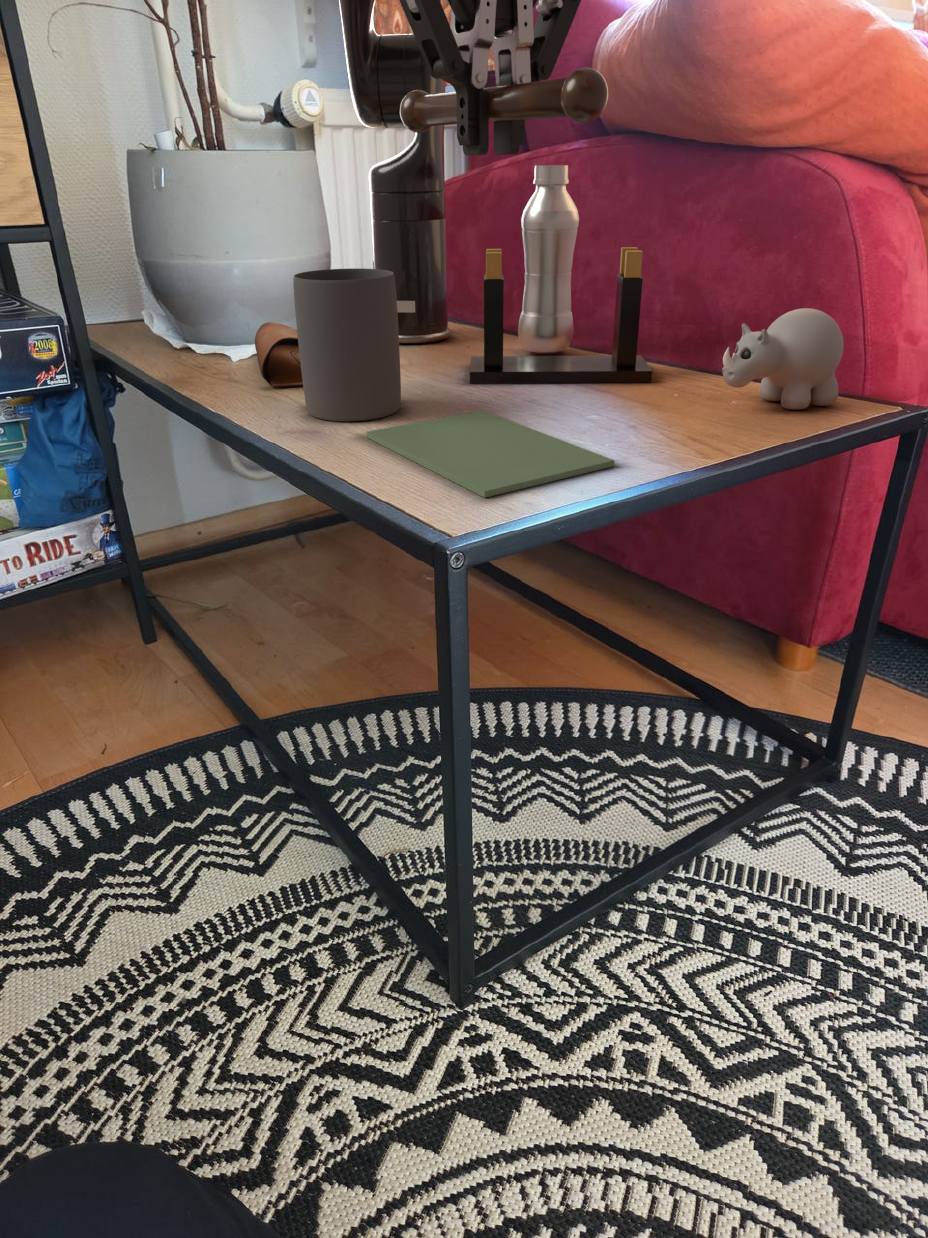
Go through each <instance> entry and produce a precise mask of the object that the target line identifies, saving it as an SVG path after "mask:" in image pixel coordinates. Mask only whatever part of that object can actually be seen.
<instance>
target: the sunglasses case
mask: <svg viewBox="0 0 928 1238" xmlns="http://www.w3.org/2000/svg"><path fill="white" fill-rule="evenodd" d="M254 348H255V352H256V356H257V363H258V368H259V372H260V374H261V375H260V376H261V377H262V378H263V380H265V381H266V382H267V384H268V385H270V387H272V388H279V387H283V388H298V387H303V380H302V372H301V363H300V353H299V344H298V334H297V329H295V328H294V327H291V326H288V325H286V324H282V323H278V322H275V321H273V322H272V321H268V322H265V323H263V324H261V325H260V326H259V328H258V329H257V331H256V333H255V336H254Z"/></svg>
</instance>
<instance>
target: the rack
mask: <svg viewBox="0 0 928 1238" xmlns="http://www.w3.org/2000/svg"><path fill="white" fill-rule="evenodd" d="M485 251H486V253H485V274H484V275H483V355H482V356H480V355H479V356H478V355H477V356H471V359H470V365H469V366H470V367H469V384H629V383H630V384H631V383H635V384H637V383H639V384H640V383H642V384H645V383H647V384H648V383H650V384H651V383H652V382H653V369H652V368H651V367H650V365H649V364H648V363H647V362H646V360H645V359H644V357H643V356H642V355H641V354H637V353H638V345H639V330H640V319H641V318H640V317H641V307H642V306H641V304H642V294H643V293H642V292H643V279H644V278H643V277H642V265H643V250H639V247H637V246H625V247H624V246H623V247H622V246H621V248H620V251H621V252H620V263H619V272H618V273H617V276H616V277H617V278H616V290H615V291H616V292H615V295H616V296H615V306H614V321H613V333H612V334H613V335H612V352H611V355H504V303H505V302H504V296H505V295H504V292H505V291H504V289H505V286H504V285H505V277H504V274H503V268H502V267H503V249H502V248H486V250H485Z"/></svg>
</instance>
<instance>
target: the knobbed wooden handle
mask: <svg viewBox="0 0 928 1238" xmlns="http://www.w3.org/2000/svg"><path fill="white" fill-rule="evenodd" d="M608 87H609V86H608V83H607V81H606V78H605V77H604V76H603V74H602V73H601V72H600V71H598V70H596V69H595V68H592V67H580V68H577V69H576V70H574V71H572V72H571V73H570V74H568V76H567V77H564V78H563V77H561V78H555V79H547V80H540V81H537V82H529V83H521V84H513V85H505V86H490V87H483V91H489V101H488V107H489V123H494V122H495V121H509V120H524V119H525V120H537V119H550V118H564V117H567V118H568V119H570V120H572V121H573V122H575V123H577V124H588V123H590V122H593V121H594V120H596V119H597V118H599V117H600V115H602V113H603V112H604V110H605V108H606V106H607V103H608V99H609V88H608ZM400 116H401V119H402V122H403V123H404V125H405V126H406V127H407V128H406V129H407V130H409V131H410V132H413V133H415V134H416V133H422V132H425V131H427V130H429V129H430V128H431V127H432V126H438V125H444V126H450V125H457V101H456V92H455V91H450V92H445V93H440V94H432V95H429V94H428V93H426V92H425V91H421V90H414V91H411V92H409V93H408V94H407V95H406V96H405V97H404V98H403V100H402V103H401V106H400Z"/></svg>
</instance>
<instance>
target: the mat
mask: <svg viewBox="0 0 928 1238" xmlns="http://www.w3.org/2000/svg"><path fill="white" fill-rule="evenodd" d="M365 436H366V438H367V439H369V440H371V441H373V442H375V443H376V444H379V445H381V446H383V447H385V448H386V449H388V450H390V451H392V452H394V453H396V454H398V455H400V456H402V457H404V458H406V459H407V460H410V461H411V462H414V463H416V464H418V465H419V466H421V467H424V468H425V469H428V470H429V471H431V472H433V473H435V474H437V475H440V476H442V477H443V478H445V479H447V480H449V481H451V482H453V483H455V484H457V485H459V486H461V487H462V488H464V489H466V490H469V491H470V492H473V493H474V494H476V495H478V496H480V497H482V498H483V499H487V498H490V497H493V496H497V495H502V494H506V493H512V492H515V491H519V490H522V489H526V488H531V487H535V486H538V485H543V484H547V483H551V482H556V481H559V480H563V479H569V478H572V477H576V476H580V475H584V474H588V473H592V472H596V471H600V470H604V469H608V468H612V467H615V459H612V458H609V457H607V456H603V455H602V454H599V453H596V452H594V451H591V450H588V449H586V448H582V447H580V446H577V445H575V444H572V443H570V442H567V441H564V440H562V439H559V438H557V437H555V436H551V435H549V434H545V433H543V432H541V431H538V430H536V429H533V428H530V427H528V426H525V425H522V424H520V423H517V422H515V421H511V420H509V419H506V418H504V417H501V416H499V415H497V414H494V413H490V412H488V411H486V410H477V411H471V412H465V413H461V414H454V415H449V416H445V417H438V418H434V419H429V420H423V421H417V422H412V423H406V424H400V425H396V426H390V427H385V428H379V429H375V430H369V431H366V432H365Z"/></svg>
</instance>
